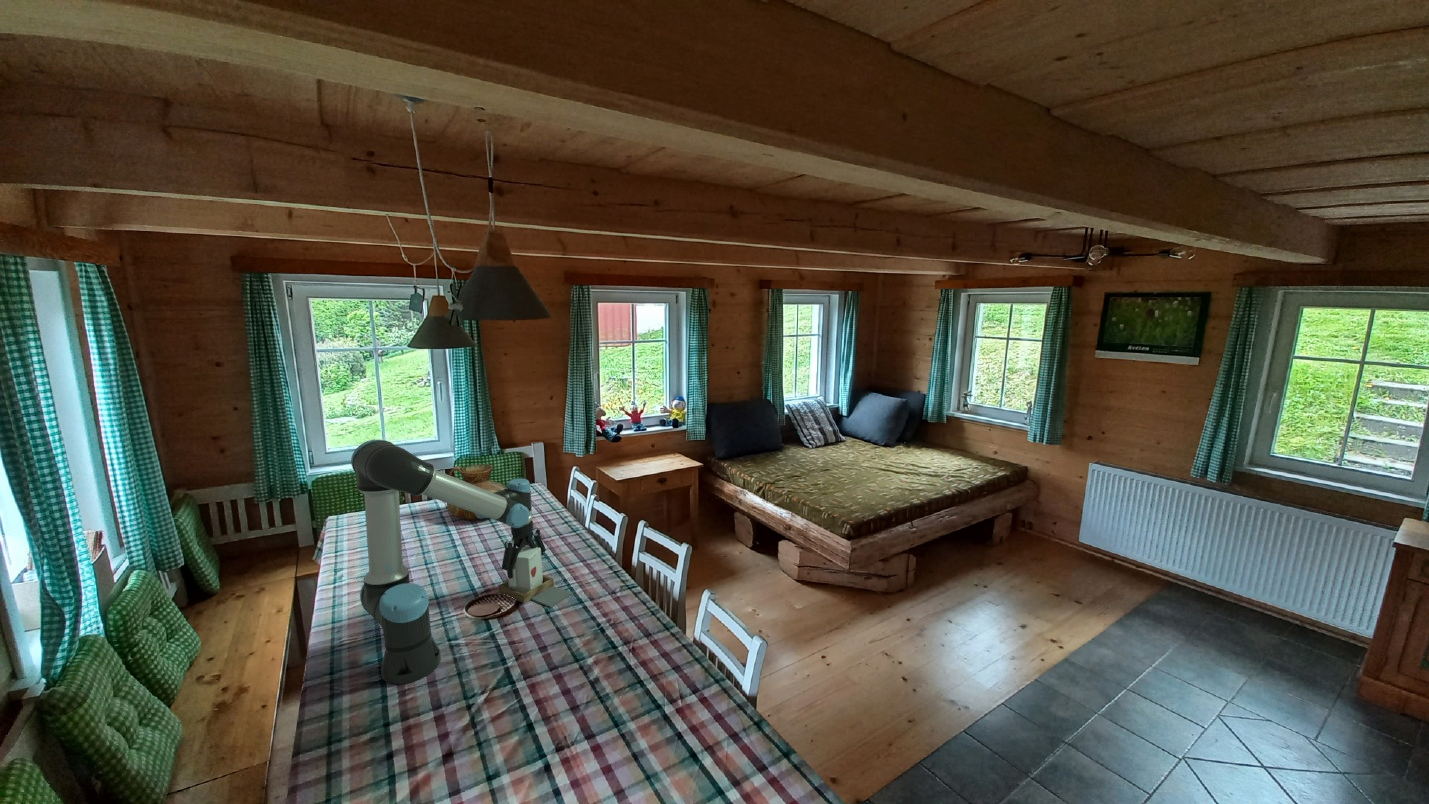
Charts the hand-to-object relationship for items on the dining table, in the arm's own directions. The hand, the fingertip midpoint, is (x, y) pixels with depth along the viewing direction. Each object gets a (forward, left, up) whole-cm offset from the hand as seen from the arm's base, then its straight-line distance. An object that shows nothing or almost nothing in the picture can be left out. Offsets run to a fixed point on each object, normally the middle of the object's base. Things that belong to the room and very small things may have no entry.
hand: (525, 578), depth 198 cm
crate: (0, 0, -4) cm, 4 cm away
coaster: (+1, -12, -4) cm, 13 cm away
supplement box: (0, 0, -5) cm, 5 cm away
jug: (+38, +78, -5) cm, 86 cm away
